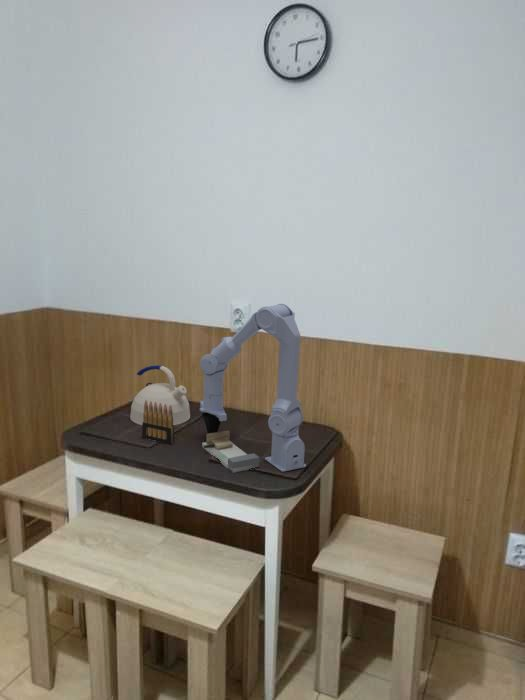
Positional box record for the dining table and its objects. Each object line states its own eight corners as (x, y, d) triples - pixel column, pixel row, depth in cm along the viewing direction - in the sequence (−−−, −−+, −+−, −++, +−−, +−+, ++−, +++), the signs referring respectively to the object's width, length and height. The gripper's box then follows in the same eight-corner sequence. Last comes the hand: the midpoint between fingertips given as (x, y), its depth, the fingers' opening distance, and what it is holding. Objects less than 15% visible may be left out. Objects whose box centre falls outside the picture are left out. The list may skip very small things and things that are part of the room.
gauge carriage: (235, 446, 157) (235, 436, 156) (207, 451, 152) (207, 441, 152) (227, 439, 161) (227, 430, 160) (199, 444, 157) (200, 434, 156)
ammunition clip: (141, 438, 164) (141, 400, 161) (145, 436, 166) (145, 398, 163) (171, 444, 160) (171, 406, 157) (174, 442, 161) (174, 404, 159)
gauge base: (259, 467, 146) (259, 457, 146) (232, 473, 142) (233, 462, 142) (226, 442, 163) (226, 432, 162) (202, 446, 159) (202, 437, 159)
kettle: (165, 432, 170) (165, 376, 166) (116, 419, 180) (115, 366, 176) (203, 415, 187) (203, 364, 183) (157, 404, 197) (157, 356, 193)
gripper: (191, 388, 163) (190, 430, 166) (211, 401, 151) (210, 447, 154) (212, 385, 167) (211, 427, 170) (233, 398, 155) (232, 443, 157)
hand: (212, 436), depth 162 cm, fingers closed
